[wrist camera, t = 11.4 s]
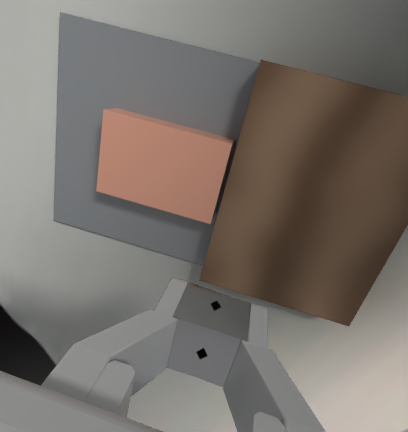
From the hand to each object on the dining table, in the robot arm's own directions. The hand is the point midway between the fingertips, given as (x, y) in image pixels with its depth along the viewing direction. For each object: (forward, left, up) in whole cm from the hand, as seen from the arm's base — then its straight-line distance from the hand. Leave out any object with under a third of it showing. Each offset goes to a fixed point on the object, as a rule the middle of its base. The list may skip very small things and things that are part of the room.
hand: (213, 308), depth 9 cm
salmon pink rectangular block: (+6, 0, -15) cm, 16 cm away
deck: (-5, 0, -15) cm, 16 cm away
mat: (+8, 0, -15) cm, 17 cm away
